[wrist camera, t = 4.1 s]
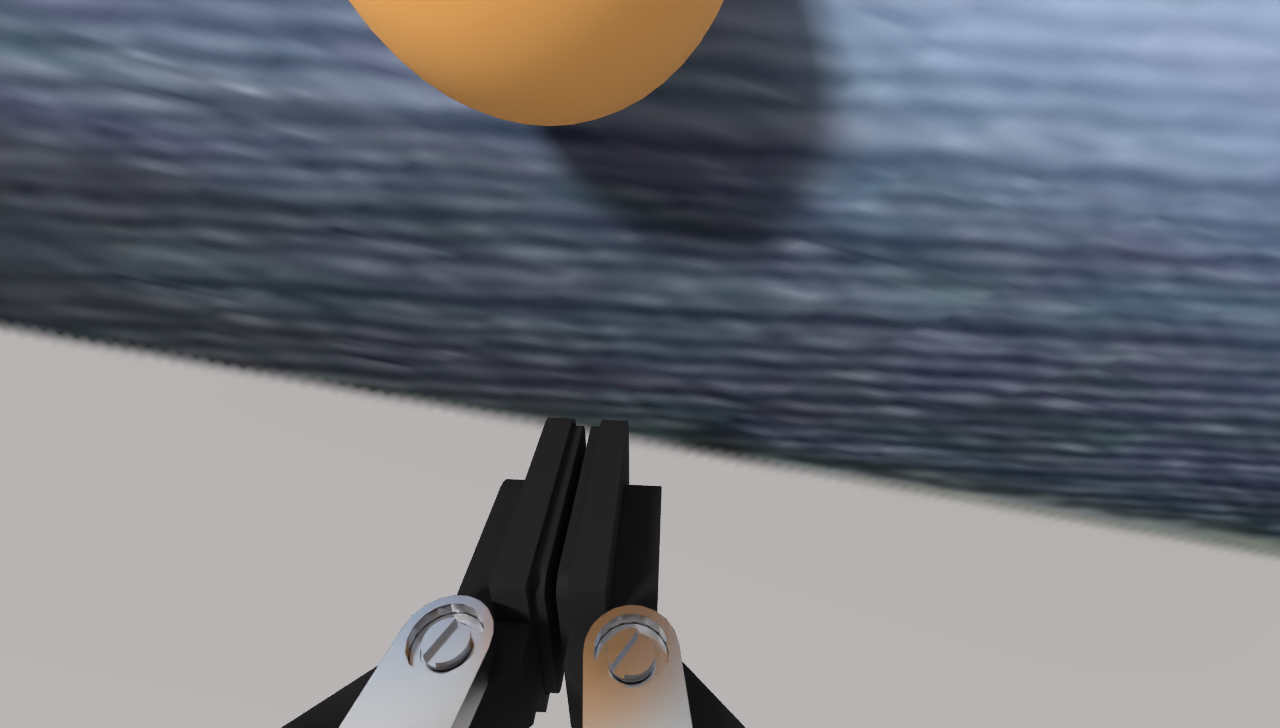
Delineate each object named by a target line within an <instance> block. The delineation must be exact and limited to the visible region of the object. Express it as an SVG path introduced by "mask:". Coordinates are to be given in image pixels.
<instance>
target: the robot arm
mask: <svg viewBox="0 0 1280 728" xmlns="http://www.w3.org/2000/svg"><path fill="white" fill-rule="evenodd" d="M660 515H661V486H642V485H629V424H628V421H619V420H602V421H601V425H600V427H595V426H592V427H591V429H590V434H589V438H588V443H587V447H586V440H585V428H584V426H576V422H575V419H569V418H547V420H546V422H545V425H544V428H543V431H542V434H541V436H540V439H539V442H538V445H537V448H536V451H535V453H534V456H533V459H532V462H531V465H530V467H529V471H528V473H527V476H526V479H525V480H511V479H506V480H505V481H504V482H503V484H502V486H501V487H500V490H499V492H498V495H497V497H496V500H495V502H494V505H493V507H492V510H491V512H490V515H489V517H488V520H487V522H486V525H485V527H484V529H483V532H482V534H481V537H480V540H479V542H478V544H477V547H476V549H475V552H474V554H473V557H472V559H471V562H470V564H469V567H468V569H467V572H466V574H465V576H464V579H463V582H462V584H461V586H460V589H459V591H458V594H457V595H453V596H448V597H444V598H440V599H437V600H435V601H433V602H431V603H429V604H427V605H425V606H424V607H423V608H421V609H420V610H419V611H417V612H416V613H415V614H414V615H412V617H411V618H410V619H409V620H408V622H407V623H406V624H405V625H404V626H403V628H402V629H401V631H400V632H399V634H398V635H397V637H396V639H395V640H394V642H393V643H392V645H391V646H390V648H389V650H388V651H387V653H386V654H385V656H384V657H383V659H382V661H381V662H380V664H379V665H378V666H377V667H375V668H374V669H372V670H371V671H369V672H367V673H366V674H364V675H363V676H361V677H359V678H358V679H356V680H355V681H353V682H352V683H350V684H349V685H347V686H345V687H344V688H342V689H341V690H339V691H338V692H336V693H335V694H333V695H332V696H330V697H328V698H327V699H325V700H324V701H322V702H321V703H319V704H318V705H316V706H314V707H313V708H311V709H310V710H308V711H307V712H305V713H303V714H302V715H300V716H299V717H297V718H296V719H294V720H293V721H291V722H290V723H288V724H286V725H285V726H283V727H282V728H529V727H530V726H532V725H533V723H534V718H535V714H536V712H546V709H547V704H548V699H549V694H550V693H559V692H560V690H561V686H562V681H563V676H564V672H565V680H566V688H567V696H568V704H569V713H570V721H571V727H572V728H745V727H744V726H743V725H742V724H741V723H740V722H739V720H738V719H736V717H735V716H734V715H733V714H732V713H731V712H730V711H729V710H728V709H727V708H726V707H725V706H724V705H723V704H722V703H721V702H720V701H719V700H718V699H717V697H716V696H715V695H714V694H713V693H712V692H711V691H710V690H709V689H708V688H707V687H706V686H705V685H704V684H703V683H702V682H701V681H700V680H699V679H698V678H697V677H696V676H695V674H694V673H693V672H692V671H691V670H690V669H689V668H688V667H687V666H686V665H685V664H684V663H683V662H682V658H681V652H680V646H679V642H678V639H677V636H676V633H675V630H674V629H673V627H672V626H671V625H670V624H669V622H668V621H667V619H666V618H664V617H663V616H662V615H660V614H659V613H658V612H657V601H658V573H659V544H660Z"/></svg>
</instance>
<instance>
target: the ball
mask: <svg viewBox="0 0 1280 728" xmlns="http://www.w3.org/2000/svg"><path fill="white" fill-rule="evenodd" d="M349 1H350V3H351V4H352V5H353V7H354V8H355V9H356V11H357V12H358V13H359V14H360V16H361V17H362V18H363V20H364V21H365V22H366V24H367V25H368V26H369V27H370V29H371V30H372V31H373V32H374V33H375V34H376V35H377V36H378V37H379V38H380V40H381V41H382V42H383V43H384V44H385V45H386V46H387V47H388V48H389V49H390V50H391V51H392V52H393V53H394V54H395V55H396V56H397V57H398V58H399V59H400V60H401V61H402V62H403V63H404V64H405V65H407V66H408V67H409V68H410V69H411V70H412V71H414V72H415V73H416V74H417V75H418V76H419V77H421V78H422V79H423V80H424V81H426V82H427V83H429V84H430V85H432V86H433V87H435V88H436V89H438V90H439V91H441V92H442V93H444V94H445V95H447V96H449V97H451V98H452V99H454V100H456V101H458V102H460V103H462V104H464V105H466V106H468V107H470V108H472V109H475V110H478V111H480V112H483V113H486V114H489V115H491V116H494V117H497V118H499V119H503V120H508V121H512V122H517V123H521V124H528V125H540V126H559V125H573V124H578V123H583V122H587V121H592V120H596V119H599V118H602V117H604V116H607V115H610V114H613V113H615V112H618V111H621V110H623V109H624V108H626V107H628V106H630V105H632V104H634V103H636V102H637V101H639V100H641V99H643V98H644V97H646V96H647V95H648V94H650V93H651V92H652V91H654V90H655V89H656V88H658V87H659V86H660V85H662V84H663V83H664V82H665V81H666V80H667V79H668V78H669V77H670V76H671V75H672V74H673V73H675V72H676V71H677V70H678V69H679V68H680V67H681V66H682V65H683V63H684V62H685V61H686V60H687V58H688V57H689V56H690V55H691V54H692V52H693V51H694V50H695V49H696V47H697V46H698V45H699V44H700V42H701V40H702V39H703V37H704V36H705V34H706V32H707V31H708V29H709V28H710V26H711V24H712V23H713V21H714V20H715V18H716V16H717V14H718V12H719V10H720V8H721V5H722V3H723V1H724V0H349Z"/></svg>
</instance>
